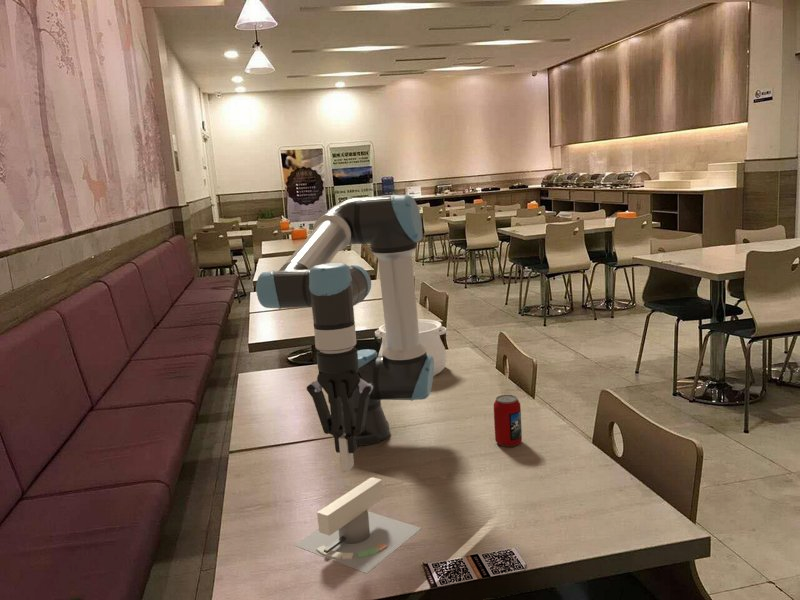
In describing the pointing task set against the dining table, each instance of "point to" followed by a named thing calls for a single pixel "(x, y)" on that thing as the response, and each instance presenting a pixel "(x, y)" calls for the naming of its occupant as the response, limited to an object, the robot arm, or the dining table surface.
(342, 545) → the tuner board
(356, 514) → the rotary bar knob
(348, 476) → the dining table surface
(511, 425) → the beverage can
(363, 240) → the robot arm
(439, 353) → the pot
